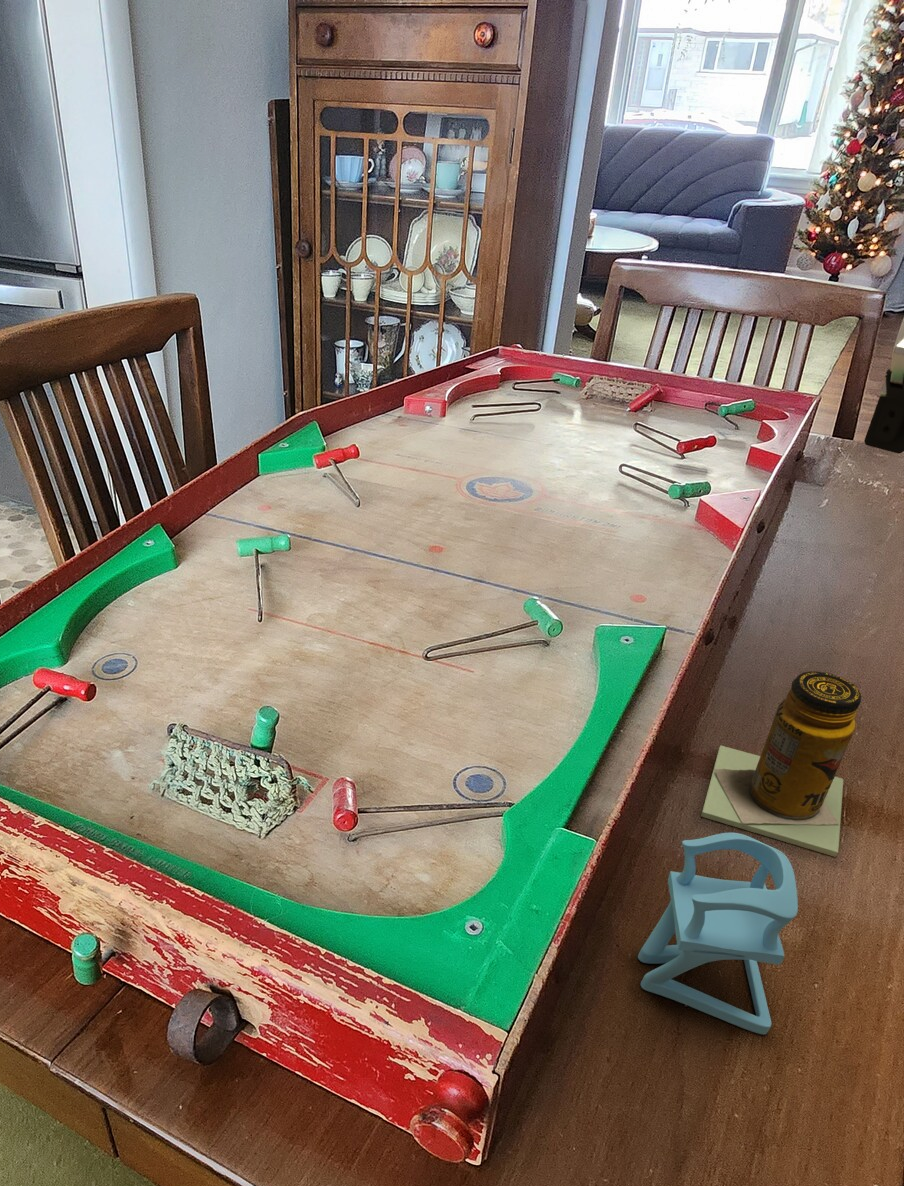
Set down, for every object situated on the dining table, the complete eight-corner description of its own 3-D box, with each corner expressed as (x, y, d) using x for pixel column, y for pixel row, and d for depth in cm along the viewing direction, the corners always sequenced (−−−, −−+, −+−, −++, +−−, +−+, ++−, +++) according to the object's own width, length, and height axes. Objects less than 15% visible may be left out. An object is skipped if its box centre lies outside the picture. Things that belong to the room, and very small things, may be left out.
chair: (634, 931, 68) (670, 810, 61) (749, 948, 67) (798, 827, 60) (643, 1016, 62) (683, 892, 55) (769, 1036, 61) (827, 912, 54)
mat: (718, 749, 87) (720, 744, 87) (841, 783, 84) (843, 778, 83) (700, 816, 79) (702, 811, 79) (836, 857, 75) (838, 852, 75)
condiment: (838, 825, 78) (889, 710, 71) (742, 825, 78) (784, 709, 71) (802, 772, 84) (846, 662, 77) (712, 772, 84) (749, 660, 77)
